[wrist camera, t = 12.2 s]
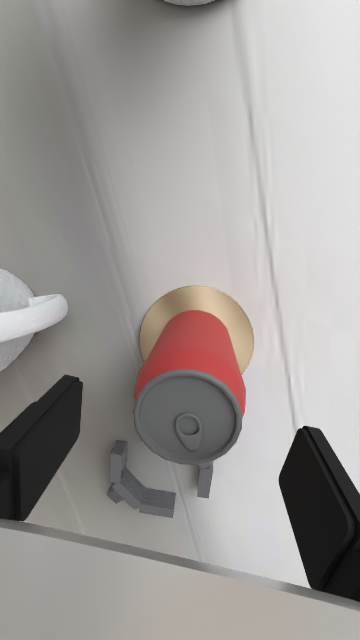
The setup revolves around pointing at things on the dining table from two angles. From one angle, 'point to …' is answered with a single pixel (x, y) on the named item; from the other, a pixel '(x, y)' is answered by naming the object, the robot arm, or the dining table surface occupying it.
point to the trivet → (203, 301)
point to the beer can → (190, 391)
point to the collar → (142, 497)
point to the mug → (24, 315)
